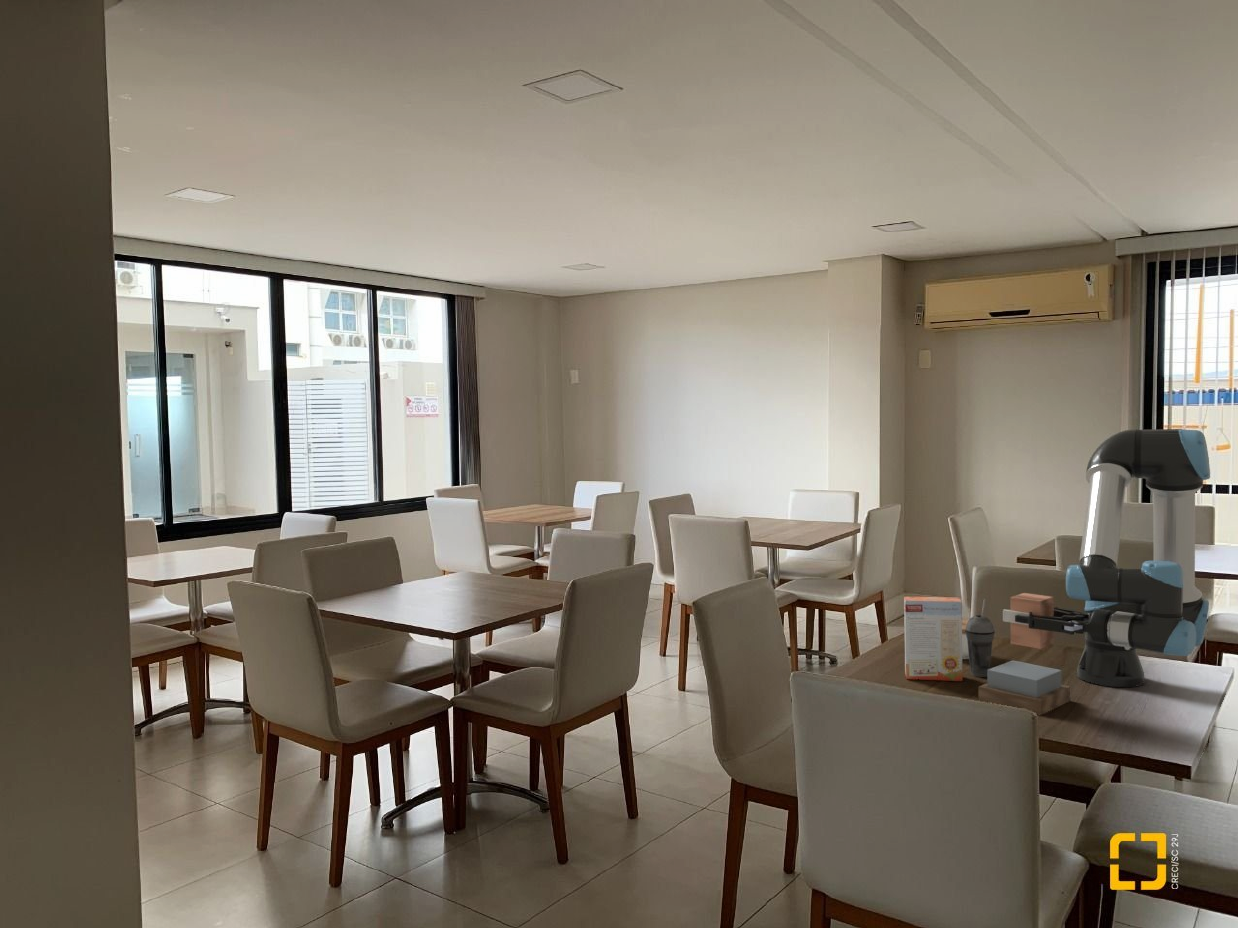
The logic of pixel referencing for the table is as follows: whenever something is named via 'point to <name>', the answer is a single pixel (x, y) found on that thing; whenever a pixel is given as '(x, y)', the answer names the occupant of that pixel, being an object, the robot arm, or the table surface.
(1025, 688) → the slate top tile
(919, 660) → the cracker box
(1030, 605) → the terracotta pillar block
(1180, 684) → the table surface
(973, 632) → the beverage cup
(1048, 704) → the walnut base slab
